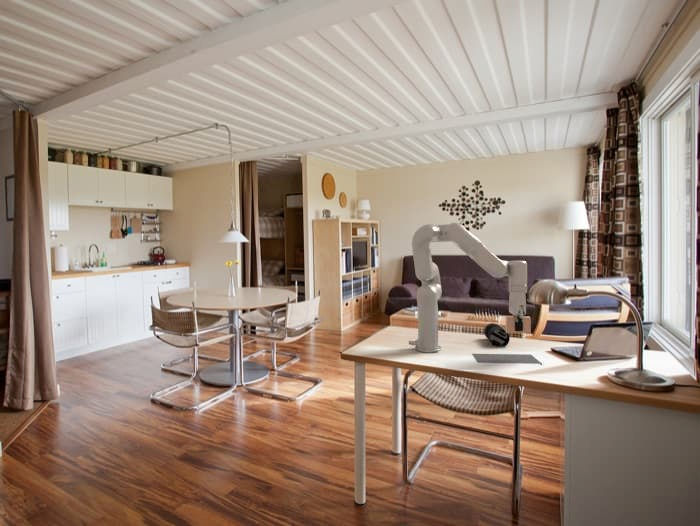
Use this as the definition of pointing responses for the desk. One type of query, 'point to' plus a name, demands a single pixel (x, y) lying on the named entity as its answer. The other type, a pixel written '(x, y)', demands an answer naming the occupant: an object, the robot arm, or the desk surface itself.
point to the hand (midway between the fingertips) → (518, 330)
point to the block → (511, 324)
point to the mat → (506, 358)
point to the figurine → (496, 334)
